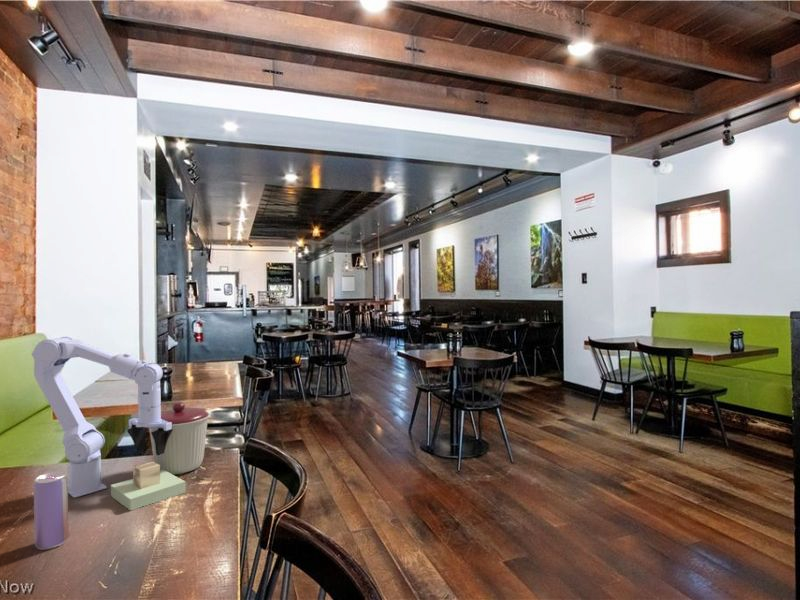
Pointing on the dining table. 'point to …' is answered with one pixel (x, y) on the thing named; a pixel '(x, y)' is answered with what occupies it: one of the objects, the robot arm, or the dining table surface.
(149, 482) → the maple block
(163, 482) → the green plinth
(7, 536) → the dining table surface
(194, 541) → the dining table surface
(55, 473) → the beverage can
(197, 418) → the canister
